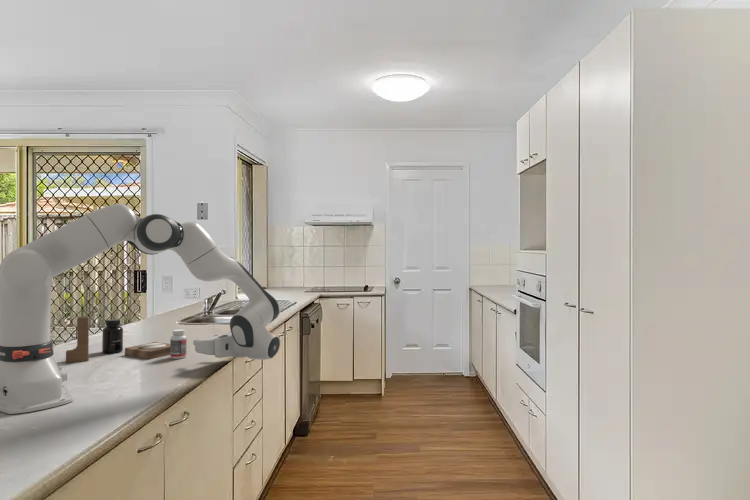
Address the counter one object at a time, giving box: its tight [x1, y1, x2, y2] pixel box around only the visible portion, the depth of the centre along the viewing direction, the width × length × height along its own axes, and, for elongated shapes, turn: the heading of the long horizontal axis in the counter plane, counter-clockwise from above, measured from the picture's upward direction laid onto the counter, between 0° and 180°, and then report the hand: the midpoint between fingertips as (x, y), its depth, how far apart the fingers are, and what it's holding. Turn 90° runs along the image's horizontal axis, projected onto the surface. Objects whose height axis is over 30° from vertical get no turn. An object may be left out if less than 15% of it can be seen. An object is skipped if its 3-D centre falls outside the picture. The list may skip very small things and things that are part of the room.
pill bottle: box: [169, 328, 188, 360], centre depth 180 cm, size 5×5×10 cm
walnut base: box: [124, 341, 170, 360], centre depth 185 cm, size 13×13×3 cm
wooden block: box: [65, 315, 90, 364], centre depth 173 cm, size 7×3×15 cm, turn 118°
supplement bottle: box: [101, 318, 124, 355], centre depth 187 cm, size 7×7×12 cm
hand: (205, 339), depth 175 cm, fingers open, 8 cm apart
